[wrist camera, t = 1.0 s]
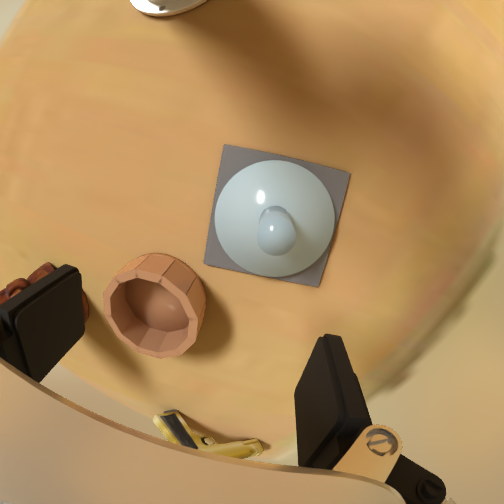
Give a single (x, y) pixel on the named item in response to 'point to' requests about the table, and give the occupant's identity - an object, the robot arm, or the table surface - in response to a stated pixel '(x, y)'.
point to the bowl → (156, 305)
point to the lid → (274, 218)
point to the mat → (244, 157)
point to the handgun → (202, 438)
